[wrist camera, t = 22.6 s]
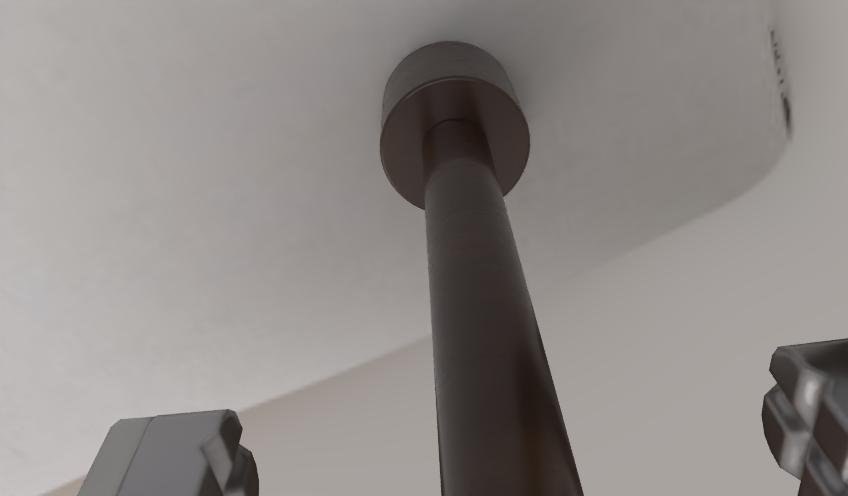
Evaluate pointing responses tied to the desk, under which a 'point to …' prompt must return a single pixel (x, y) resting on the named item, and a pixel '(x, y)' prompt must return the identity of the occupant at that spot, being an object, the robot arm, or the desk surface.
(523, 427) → the stirrer
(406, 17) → the desk surface
